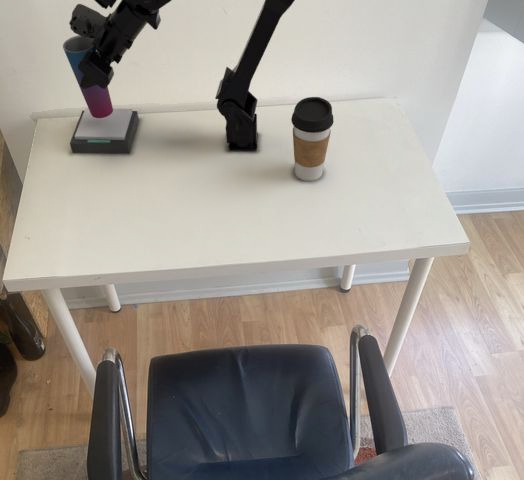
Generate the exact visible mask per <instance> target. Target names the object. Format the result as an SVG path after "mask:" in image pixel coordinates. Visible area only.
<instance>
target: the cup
mask: <svg viewBox="0 0 524 480" xmlns="http://www.w3.org/2000/svg"><path fill="white" fill-rule="evenodd" d="M93 39H94V38H89V37H82V36H80V35H78V34H77V35H75V36H72V37H70V38H68V39H66V40H65V41H64V42H63V44H62V48H63V51H64V54H65V56H66V59H67V61H68V63H69V65H70V67H71V70H72V73H73V75H74V77H75V79H76V82H77V85H78V87H79V89H80V91H81V94H82V96H83V99H84V101H85V104H86V106H87V108H89V111H90V113H91V115H92V116H93V117H95V118H105V117H107V116H109V115H111V114H112V112H113V109H114V108H113V107H114V106H113V104H112V99H111V94H110V91H109V87H108V86H109V85H108V86H107V87H106V89H102V88H101V87H99V86H98V85H95V86H92V87H89V88H86V89H83V88H82V87H80V83H81V80H82V77H83V73H82V72H81V71H80V70H79V69H78V67H77V66H78V64H79V63H80V61H81V59H82V58H83V56H84V54H85V53H86V51H94V52H95V53H96V54H97V55H98V56H99V57H100V54H98V53H97V52H96V49H97V47H95V46H94V45H93V44H92V43H91V42H92V40H93Z"/></svg>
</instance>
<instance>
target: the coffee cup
mask: <svg viewBox="0 0 524 480" xmlns="http://www.w3.org/2000/svg"><path fill="white" fill-rule="evenodd" d="M290 119H291V120H290V121H291V124H292V125H293V127H292V143H293V144H292V145H293V159H294V175H295V176H296V177H297V178H298V179H300V180H302V181H306V182H311V181H316V180H318V179H320V178H321V176H322V174H323V170H324V165H325V160H326V156H327V151H328V146H329V143H330V137H331V131H332V130H331V128H332V126H333V125H334V123H335V122H334V115H333V106H332V104H331V102H330V101H328V100H327V99H325V98H323V97H319V96H309V97H305V98H303V99H301V100H300V101H298V102H297V103H296V104H295V106H294V109H293V113H292V115H291V118H290Z"/></svg>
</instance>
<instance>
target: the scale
mask: <svg viewBox="0 0 524 480" xmlns="http://www.w3.org/2000/svg"><path fill="white" fill-rule="evenodd" d="M139 121H140V118H139V114H138V110H133V108H113V112H112V114H111V115H109V116H107V117H105V118H95V117H93V116H92V115H91V113H90V111H89V108H88V107H87V108H84V109H83V110H81V113H80V116H79V118H78V121H77V124H76V126H75V129H74V131H73V134H72V137H71V139H70V141H69V146H70V149H71V152H72V153H73V154H129V155H130V154H131V150H132V148H133V147H132V146H133V143H134V140H135V137H136V132H137V128H138V126H139Z"/></svg>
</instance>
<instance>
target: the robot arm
mask: <svg viewBox="0 0 524 480" xmlns="http://www.w3.org/2000/svg"><path fill="white" fill-rule="evenodd" d="M93 1H94V2H95V3H97V5H99V7H101V8H102V9H105V10H107V9H108V8H110V9H112V8H113V7H114V5H115V4H116V2H117V1H118V0H93ZM295 1H296V0H264V2H263V4H262V7H261V9H260V10H259V13H258V16H257V19H256V20H255V23H254V25H253V27H252V29H251V32H250V35H248V39H247V41H246V44H245V46H244V48H243V50H242V52H241V55H240V58H239V59H238V62H237V63H236V65H235V66H234V68H233V69H231V68H229V66H226V67H225V71H224V73H223V76H222V77H223V78H222V79H221V80H220V81H219V83H218V84H219V85H218V87H217V92H216V94H215V97H214V98H215V100H216V101H217V102H216V109H217V110H218V112H219V114H220V115H221V116H223V117H224V119H225V137H226V138H225V139H226V144H228V149H227V150H228V151H230V152H257V151H258V145H259V133H258V114H257V113H256V110H257V107H258V106H257V105H258V102H259V101H258V98H256V96H255V95H254V94H253V93H252V92H251V91H250V86H251V83H252V80H253V78H254V75H255V73H256V71H257V69H258V67H259V65H260V63H261V60H262V58H263V56H264V54H265V52H266V49H267V48H268V45H269V43H270V42H271V39H272V37H273V35H274V33H275V30H276V28H277V26H278V24H279V23H280V20H281V18H282V16H283V15H284V14H285V13H286V12H287V11H288V10H289V9H290V7H292V5H293V4H294V3H295ZM171 2H172V0H121V1H120V2H119V3H118V5H117V6H116V7H115V9H114V10H113V12H109V13H108V15H107V16H104V15H103V14H101V13H100V12H99V11H97V10H95V9H93V8H90V7H88V6H87V5H84V4H82V3H77V4H76V5H75V6H74V9H73V10H72V12H71V19H70V21H69V22H68V24H69V28H70V30H71V31H72V32H73V33H74V34H76V35H77V36H78V35H80V36H82V37H89V38H94V39H93V40H92V42H91V43H92V44H93V45H94V46H95V47H97V49H96V52H97V53H98V54H100V57H99V56H98V55H97V54H96V53H95V52H94V51H86V53H85V54H84V56H83V58H82V59H81V61H80V63H79V64H78V66H77V67H78V69H79V70H80V71H81V72H82V73H83V77H82V80H81V83H80V87H82V88H83V89H86V88H89V87H92V86H95V85H98V86H99V87H101V88H102V89H106V87H107V86H109V85H110V84H111V81H112V80H113V78H114V75H115V71H114V68H113V66H112V65H111V64H112V63H116V64H117V65H119V64H120V62H122V61H121V60H122V59H123V56H124V55H125V53H126V52H127V51H128V50H130V49H131V47H133V44H134V42H135V40H137V37H138V36H139V35H140V33H141V32H142V31H143V30H144V29H145V27H146V26H147V24H148V25H149V26H150V27H151V28H152V29H153V30H155V31H157V30H158V29H159V26H160V24H161V23H162V22H161V21H162V18H161V15H160V9H161V8H163V7H165V6H166V5H167V4H169V3H171ZM80 87H79V88H80Z"/></svg>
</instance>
